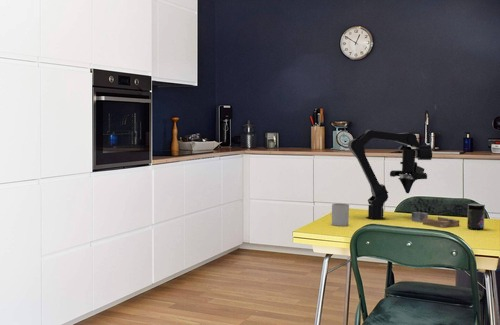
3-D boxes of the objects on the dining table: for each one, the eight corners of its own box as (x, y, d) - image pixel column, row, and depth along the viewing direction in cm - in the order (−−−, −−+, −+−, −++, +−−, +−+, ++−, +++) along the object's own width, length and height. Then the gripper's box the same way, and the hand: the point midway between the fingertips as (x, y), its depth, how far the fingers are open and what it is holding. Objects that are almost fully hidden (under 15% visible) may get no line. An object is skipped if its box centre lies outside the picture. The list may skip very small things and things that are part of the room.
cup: (333, 226, 268) (334, 205, 267) (328, 222, 278) (329, 202, 277) (350, 226, 268) (350, 205, 268) (344, 222, 278) (345, 202, 278)
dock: (442, 227, 268) (442, 220, 268) (422, 224, 278) (423, 217, 278) (459, 226, 273) (459, 219, 273) (439, 222, 283) (439, 215, 283)
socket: (419, 222, 283) (419, 213, 283) (411, 221, 287) (411, 212, 287) (427, 222, 285) (427, 212, 285) (419, 220, 290) (419, 211, 290)
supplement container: (476, 231, 261) (477, 206, 261) (463, 228, 267) (464, 204, 266) (487, 229, 265) (488, 205, 264) (474, 227, 270) (475, 203, 270)
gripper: (436, 160, 288) (435, 194, 289) (406, 158, 304) (405, 190, 305) (418, 161, 282) (417, 195, 283) (389, 158, 298) (388, 191, 299)
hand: (407, 193), depth 293 cm, fingers closed
